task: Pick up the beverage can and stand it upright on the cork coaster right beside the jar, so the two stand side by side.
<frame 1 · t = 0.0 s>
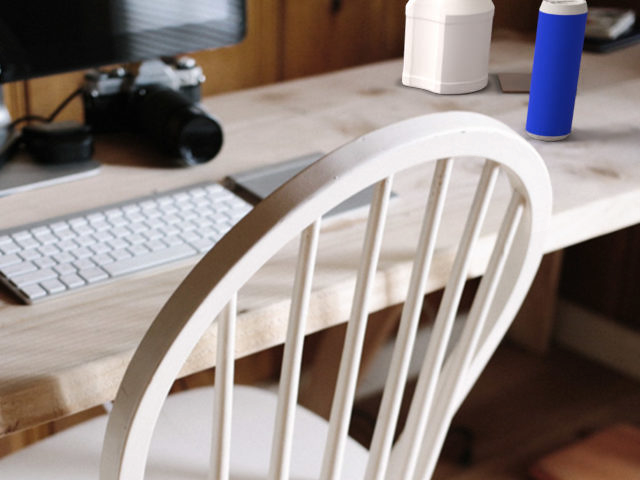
beverage can: (547, 136, 120), on the table
coaster: (533, 84, 139), on the table
jar: (444, 84, 140), on the table
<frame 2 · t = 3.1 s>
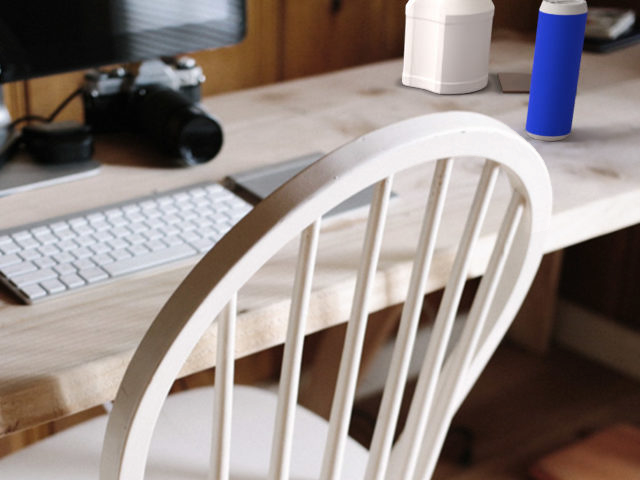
nothing on the table moved.
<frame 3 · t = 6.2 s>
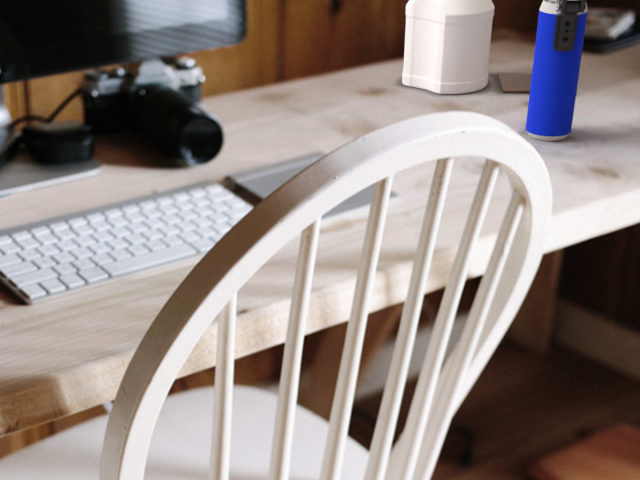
hand: (559, 43, 115), 10 cm above the table, tool pointing down, fingers closed on beverage can, 5 cm apart
beverage can: (547, 136, 120), on the table, touching gripper
everything else where it was.
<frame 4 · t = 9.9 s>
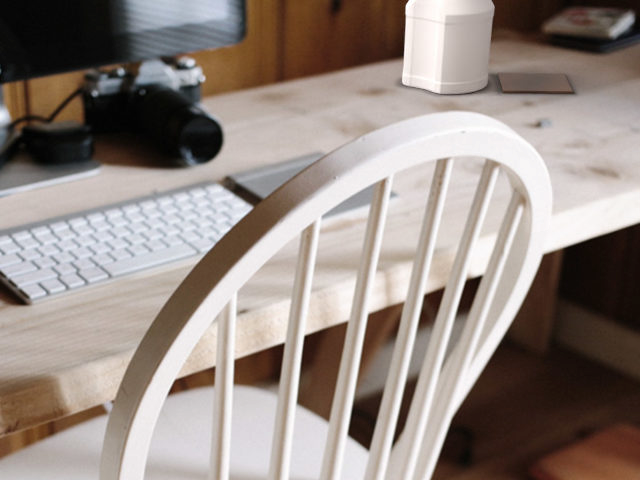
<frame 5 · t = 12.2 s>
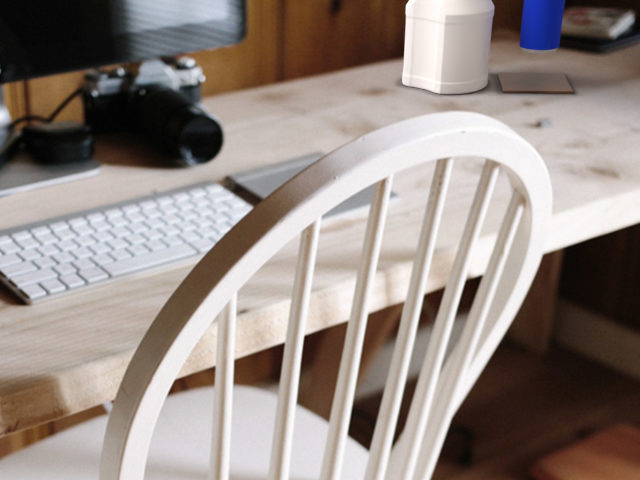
beverage can: (538, 52, 137), point 4 cm above the table, touching gripper
everything else where it was.
when the fingers open (11 cm above the table, at t = 13.8 s): beverage can stays where it is, resting on coaster.
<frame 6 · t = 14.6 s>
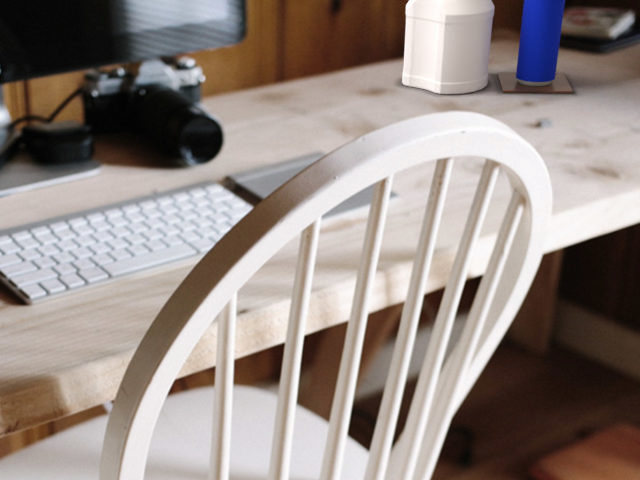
beverage can: (534, 83, 139), resting on coaster
everything else where it was.
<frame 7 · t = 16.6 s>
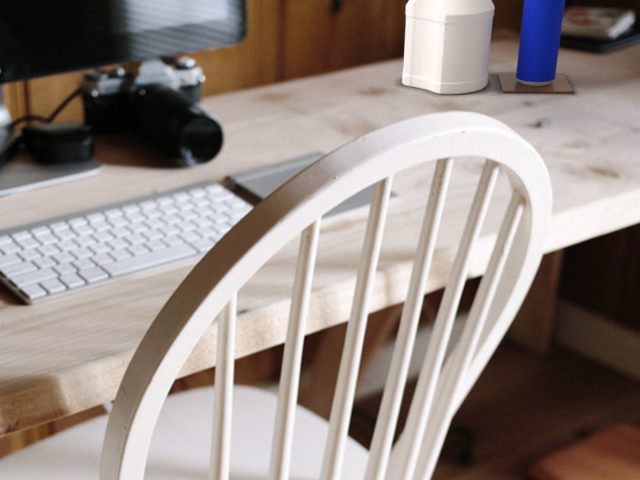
nothing on the table moved.
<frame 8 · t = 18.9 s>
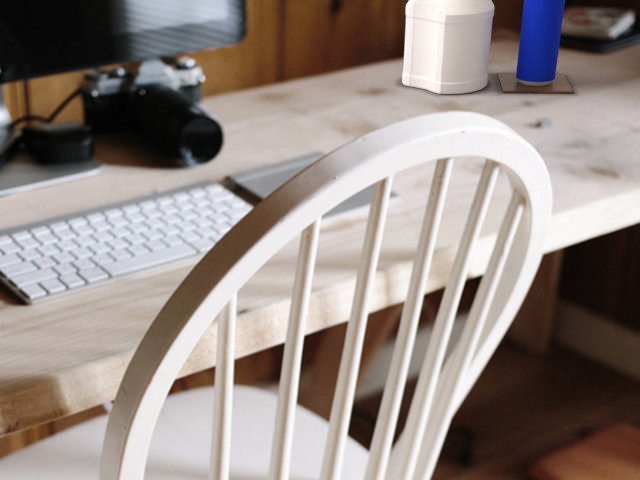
nothing on the table moved.
at the end: beverage can 0.1 cm off-centre on the coaster, point 0.1 cm above the coaster's base; beverage can tilted 0°; beverage can 12.1 cm from the jar (horizontally) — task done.
